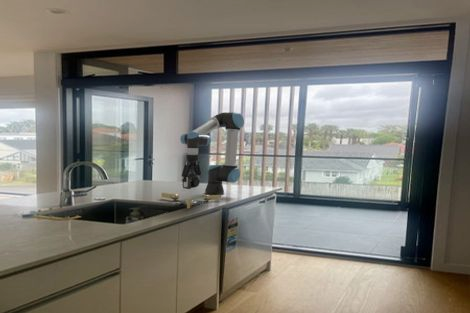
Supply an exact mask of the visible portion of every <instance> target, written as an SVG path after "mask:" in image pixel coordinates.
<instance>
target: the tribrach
mask: <svg viewBox="0 0 470 313" xmlns="http://www.w3.org/2000/svg"><path fill="white" fill-rule="evenodd" d="M222 195H223V194H222ZM222 195H221V194H220V195H210V194H204V195H203V200H201V199H193V198H188V199H176V200H175V201H174V202H175V203H174V205H175V206H186V209H190V208H191V207H192V205H195V206H201V205H203V203H209V201H211V200H214V201H215V200H222V199H223V198H222V197H223V196H222ZM177 201H179V202H177ZM202 202H203V203H202ZM200 204H201V205H200Z"/></svg>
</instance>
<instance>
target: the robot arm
mask: <svg viewBox="0 0 470 313" xmlns="http://www.w3.org/2000/svg"><path fill="white" fill-rule="evenodd" d="M244 125H245V119H244V116H243V115H242V114H241V112H236V111H235V112H234V111H233V112H220V113H218V114H216V115H214V116H212V117H210V119H209V120H208V121H206V122H205V123H204V124H201V125H200V126H198V127H197V128H195V129H194V130H190V131H188V132H187V133H183V134H181V135H180V139H179V140H180V142H181V144H182V145H186V161H185V162H184V166H183V169H182V173H181V177H183V178H184V186H183V185H182V188H183V187H188V177H187V176H188V175H189V174H190V173H191V170H192V169H193V173H195V174H197V175H199V177H198V179H199V178H200V176H201V175H202V173H201V172H202V170H201V167H200V161H199V146H202V147H203V146H204V147H207V146H209V145H210V144H211V141H212V140H211V137H210V135H208V134H209V133H210V132H212V131H214V130H218V129H220V128H225V129H224V130H226V142H225V152H224V153H225V156H224V163H223V164H212V165H211V164H210V165H209V166H208V167H207V169H208V170H207V184H206V187H205V189H204V190H205V191H204V193H205V195H220V194H221V195H224V194H225V190H224V186H223V183H224V182H225V183H230V184H234V183H237V182H238V181H239V179H240V175H241V171H240V168H239V167H238V164H237V154H238V151H237V150H238V142H239V141H238V138H239V132H241V129H242V128H243V127H244ZM199 180H200V179H199Z"/></svg>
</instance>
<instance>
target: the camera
mask: <svg viewBox="0 0 470 313" xmlns="http://www.w3.org/2000/svg"><path fill="white" fill-rule="evenodd" d="M187 177H188V187H183V186H184V177H183V178H182V180H181V181H182V188H183V189H187V190H191V189H193V188H197V187H199V185H200V179H198V177H199V178H200V175H197V174H195V172H189V174H188V176H187Z"/></svg>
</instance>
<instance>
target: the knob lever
mask: <svg viewBox="0 0 470 313" xmlns="http://www.w3.org/2000/svg"><path fill="white" fill-rule="evenodd" d="M179 197H180V196H179V193H169V192H161V198H166V199H171V200H180V198H179Z"/></svg>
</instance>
